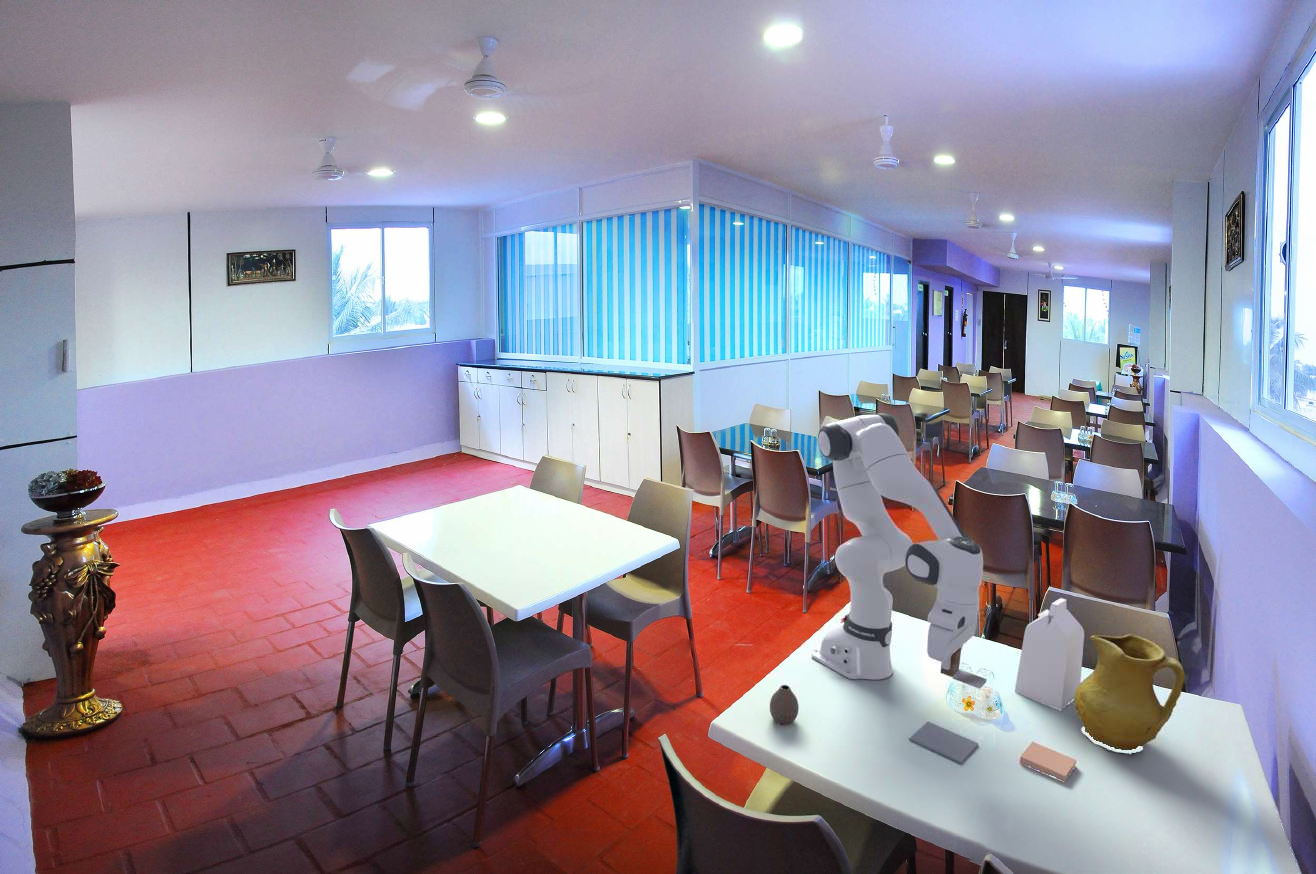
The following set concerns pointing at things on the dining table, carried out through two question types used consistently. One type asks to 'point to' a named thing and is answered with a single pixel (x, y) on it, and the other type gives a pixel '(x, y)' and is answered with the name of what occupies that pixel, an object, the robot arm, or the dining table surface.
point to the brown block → (962, 672)
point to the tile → (1048, 761)
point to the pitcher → (1126, 692)
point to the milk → (1051, 657)
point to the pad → (944, 742)
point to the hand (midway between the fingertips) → (949, 664)
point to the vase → (784, 705)
